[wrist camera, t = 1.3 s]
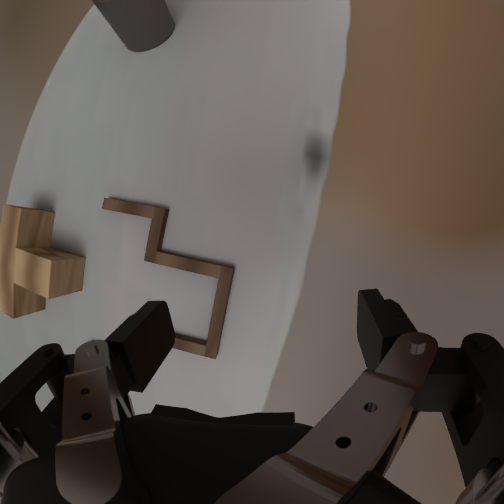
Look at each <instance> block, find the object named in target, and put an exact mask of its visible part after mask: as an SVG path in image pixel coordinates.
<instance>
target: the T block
mask: <svg viewBox="0 0 504 504" xmlns="http://www.w3.org/2000/svg"><path fill="white" fill-rule="evenodd" d="M54 216H55V213H53V212H48V211H44V210H39V209H34V208H27V207H19V206H12V205H5V204H4V207H3V213H2V220H1V227H0V311H2V312H4V313H5V314H7V315H8V316H10V317H12V318H13V319H14V318H17V317H20V316H24V315H27V314H31V313H34V312H37V311H41V310H44V309H45V300H46V298H47V299H51V298H55V297H59V296H63V295H66V294H70V293H74V292H78V291H82V283H83V274H84V265H85V258H84V257H81V256H77V255H74V254H71V253H67V252H64V251H61V250H58V249H54V248H51V247H50V242H51V235H52V228H53V222H54Z"/></svg>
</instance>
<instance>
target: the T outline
mask: <svg viewBox="0 0 504 504" xmlns="http://www.w3.org/2000/svg"><path fill="white" fill-rule="evenodd" d="M102 209H106V210H112V211H117V212H122V213H127V214H132V215H138V216H143V217H148V218H152V221H151V226H150V231H149V237H148V242H147V247H146V253H145V259H144V261H148V262H152V263H156V264H160V265H164V266H168V267H173V268H177V269H181V270H185V271H190V272H194V273H198V274H203V275H207V276H212V277H216V278H219V280H218V285H217V290H216V296H215V301H214V306H213V311H212V317H211V322H210V327H209V333H208V338H207V342H205V341H201V340H197V339H193V338H190V337H186V336H182V335H178V334H175V343H174V346H173V347H172V348H175V349H179V350H182V351H186V352H190V353H193V354H197V355H201V356H205V357H209V358H213V359H216V357H217V354H218V349H219V344H220V339H221V333H222V328H223V323H224V318H225V313H226V308H227V303H228V298H229V293H230V288H231V283H232V278H233V274H234V269H235V268H234V267H229V266H225V265H220V264H215V263H211V262H206V261H202V260H197V259H193V258H188V257H184V256H179V255H175V254H171V253H166V252H162V251H161V247H162V242H163V236H164V231H165V226H166V222H167V217H168V212H169V210H168V209H165V208H159V207H154V206H148V205H143V204H137V203H131V202H126V201H120V200H114V199H108V198H104V202H103V207H102Z"/></svg>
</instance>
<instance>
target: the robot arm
mask: <svg viewBox="0 0 504 504" xmlns="http://www.w3.org/2000/svg"><path fill="white" fill-rule="evenodd" d="M92 1H93V3H94V4H95V5H96V7H97V8H98V9H99V11H100V12H101V13H102V15H103V16H104V17H105V19H106V20H107V21H108V23H109V24H110V25H111V27H112V28H113V29H114V31H115V32H116V34H117V35H118V36H119V38H120V39H121V40H122V42H123V43H124V44H125V46H126V47H127V48H128V49H129V50H131V51H138V52H140V51H145V50H149V49H152V48H154V47H156V46H158V45H160V44H161V43H162V42H164V41H165V40H166V39H167V38H168V37H169V36H170V35H171V34H172V32H173V30H174V26H175V25H174V21H173V19H172V16H171V14H170V12H169V9H168V7H167V5H166V2H165V0H92ZM357 309H358V310H357V337H358V341H359V344H360V348H361V351H362V354H363V357H364V360H365V364H366V367H367V369H366V370H364V371H363V372H362V373H361V375H360V376H359V377H358V379H357V380H356V381H355V382H354V383H353V385H352V386H351V387H350V388H349V389H348V390H347V392H346V393H345V394H344V395H343V396H342V397H341V398H340V400H339V401H338V402H337V403H336V404H335V405H334V406H333V407H332V408H331V409H330V411H329V412H328V413H327V414H326V415H325V416H324V417H323V418H322V419H321V420H320V421H319V422H318V423H317V424H316V425H315V426H314V427H312V426H309V425H305V424H301V423H295V413H294V412H286V413H252V414H246V415H239V416H231V417H223V418H217V417H213V416H209V415H206V414H203V413H199V412H196V411H193V410H190V409H187V408H179V407H171V406H164V405H157V404H156V405H155V407H154V409H153V410H152V412H151V413H148V414H140V415H135V412H134V409H133V405H132V401H131V398H130V396H129V394H128V392H129V391H136V392H143V391H144V389H145V388H146V386H147V385H148V383H149V382H150V380H151V379H152V377H153V376H154V374H155V373H156V371H157V370H158V368H159V367H160V365H161V364H162V362H163V361H164V359H165V358H166V356H167V355H168V353H169V352H170V350H171V349H172V347H173V346H174V343H175V332H174V328H173V324H172V320H171V316H170V312H169V308H168V305H167V303H166V302H165V301H148V302H147V303H145V304H144V305H143V306H142V307H141V308H140V309H139V310H138V311H137V312H136V313H135V314H133V315H131V316H129V317H128V318H127V319H126V320H125V321H124V322H123V323H122V324H121V325H120V326H119V327H118V328H117V329H116V330H115V331H114V332H113V333H112V334H111V335H110V336H109V337H107V338H106V339H105V340H92V341H88V342H86V343H84V344H82V345H81V346H79V347H78V348H77V349H76V351H75V354H69V355H64V352H63V350H62V348H61V346H60V345H59V344H56V343H52V344H47V345H44V346H42V347H40V348H39V349H38V350H36V351H35V352H34V353H33V354H32V355H31V356H30V357H28V358H27V359H26V360H25V361H24V362H23V363H22V364H21V365H19V366H18V367H17V368H16V369H15V370H14V371H13V372H12V373H11V374H10V375H9V376H7V377H6V378H5V379H4V380H3V381H2V382H1V383H0V496H1V497H2V500H1V504H421V503H420V502H418V501H416V500H415V499H414V498H412V497H411V496H409V495H408V494H406V493H405V492H403V491H402V490H401V489H399V488H398V487H397V486H395V485H394V484H392V483H391V482H390V481H388V480H387V479H386V478H384V476H385V474H386V473H387V471H388V469H389V468H390V466H391V464H392V462H393V460H394V458H395V456H396V454H397V453H398V451H399V449H400V447H401V445H402V444H403V442H404V440H405V439H406V437H407V435H408V433H409V431H410V429H411V428H412V426H413V424H414V422H415V420H416V418H417V416H418V414H419V412H420V411H424V412H442V414H443V417H444V420H445V423H446V425H447V428H448V431H449V434H450V437H451V440H452V443H453V446H454V449H455V452H456V455H457V458H458V462H459V465H460V468H461V472H462V476H463V479H464V483H465V487H466V488H465V489H464V490H463V491H462V492H461V494H460V495H459V497H458V498H457V501H456V504H504V348H503V347H502V346H501V345H500V343H499V342H498V341H497V340H496V339H495V338H494V337H492V336H489V335H487V334H483V333H473V334H469V335H467V336H466V337H465V338H464V339H463V341H462V344H461V348H441V347H438V342H437V340H436V339H435V338H434V337H432V336H430V335H429V334H425V333H422V332H418V331H417V330H416V328H415V327H414V325H413V324H412V322H411V321H410V319H409V318H407V315H406V313H405V312H404V311H403V309H402V308H401V306H400V305H399V304H398V303H396V302H395V301H393V300H391V299H386V300H384V298H383V297H382V295H381V294H380V292H379V291H378V289H368V290H359V292H358V308H357ZM45 383H47V385H48V386H49V388H50V390H51V392H52V394H53V395H54V398H53V399H52V401H51V402H50V403H49V404H48V405H47V406H46V408H45V409H44V410H43V411H42V412H41V411H40V409H39V408H38V406H37V404H36V402H35V395H36V393H37V391H38V390H39V389H40V388H41V387H42V386H43V385H44V384H45ZM61 439H62V441H61ZM60 441H61V442H60ZM59 442H60V443H59Z"/></svg>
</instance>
